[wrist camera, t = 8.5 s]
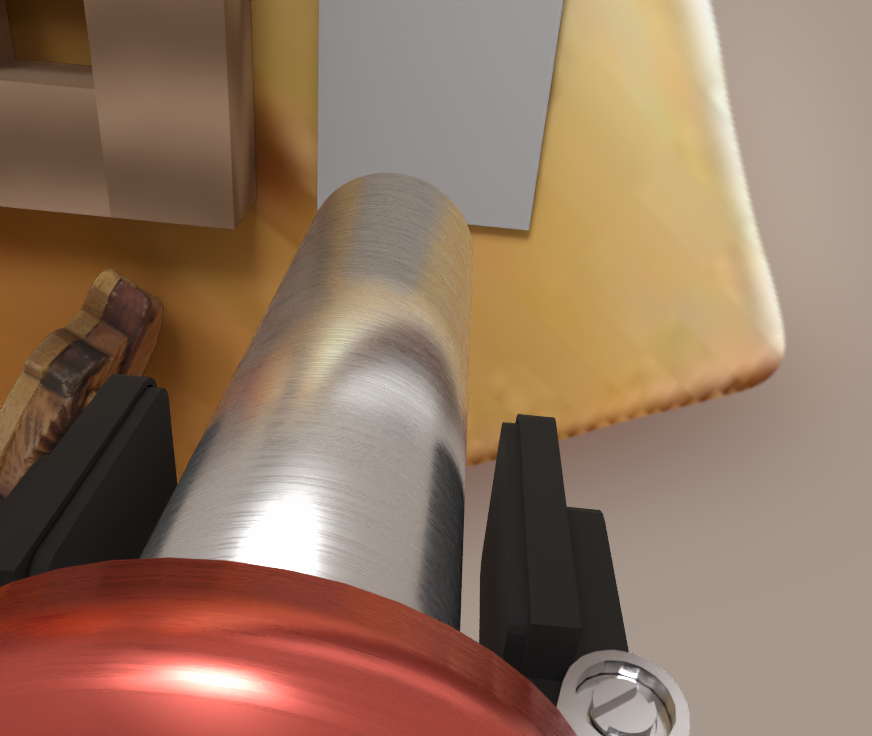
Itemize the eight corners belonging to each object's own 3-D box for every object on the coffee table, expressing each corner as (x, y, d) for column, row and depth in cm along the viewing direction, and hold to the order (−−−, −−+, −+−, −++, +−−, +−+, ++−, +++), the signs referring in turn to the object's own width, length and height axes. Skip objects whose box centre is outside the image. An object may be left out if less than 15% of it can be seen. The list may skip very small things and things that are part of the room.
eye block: (-178, -251, 31) (-262, -267, 27) (244, -210, 31) (213, -222, 27) (-77, 165, 39) (-132, 193, 36) (256, 199, 39) (234, 229, 36)
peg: (246, 96, 18) (-370, 643, 5) (552, 126, 18) (722, 753, 5) (255, 360, 22) (-96, 1088, 9) (511, 385, 22) (551, 1153, 9)
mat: (322, -82, 33) (319, -81, 32) (570, -57, 33) (571, -56, 32) (319, 205, 39) (317, 209, 38) (528, 225, 39) (528, 230, 38)
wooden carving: (117, 483, 49) (37, 611, 40) (41, 453, 48) (-57, 578, 39) (201, 254, 41) (125, 353, 32) (112, 213, 40) (10, 304, 31)
